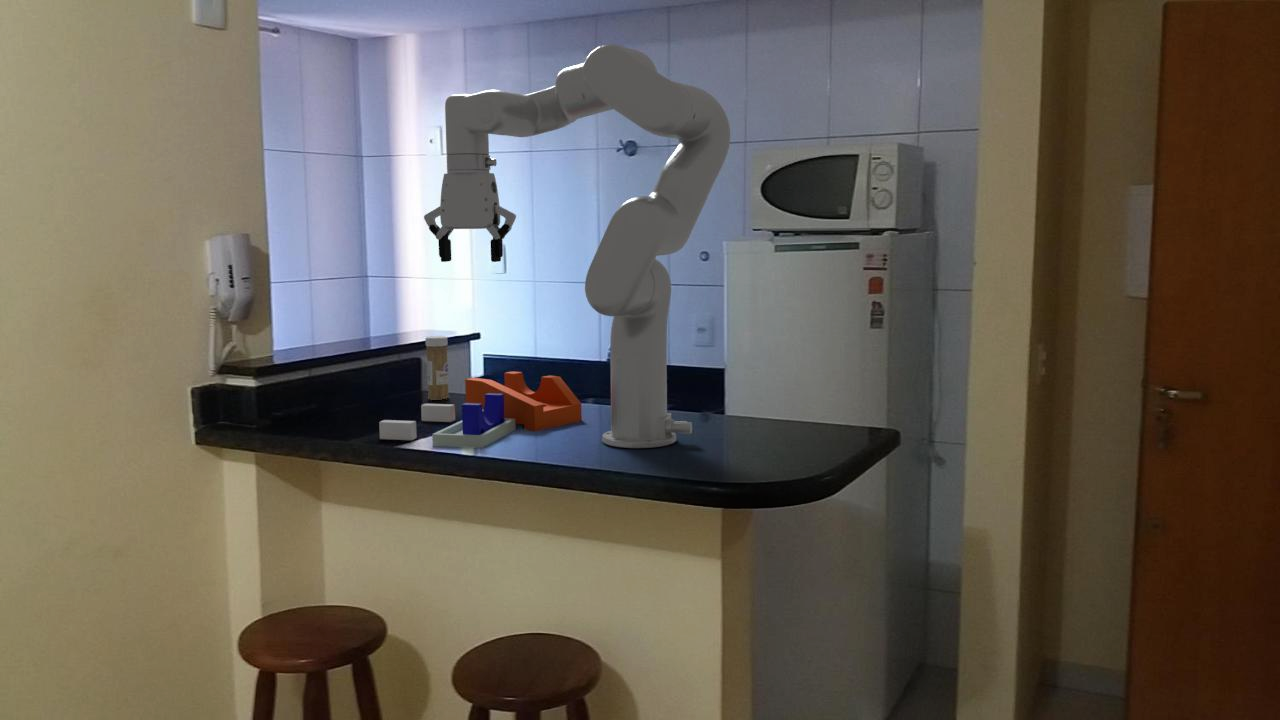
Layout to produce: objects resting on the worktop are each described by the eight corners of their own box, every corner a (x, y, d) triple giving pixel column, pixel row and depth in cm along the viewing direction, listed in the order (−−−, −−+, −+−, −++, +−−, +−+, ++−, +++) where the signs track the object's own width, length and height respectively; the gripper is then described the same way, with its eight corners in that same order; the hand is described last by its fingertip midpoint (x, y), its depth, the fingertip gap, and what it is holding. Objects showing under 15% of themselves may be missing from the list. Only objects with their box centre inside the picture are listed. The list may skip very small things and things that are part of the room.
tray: (515, 429, 193) (515, 418, 193) (482, 447, 178) (482, 436, 177) (469, 427, 195) (468, 416, 195) (432, 445, 180) (432, 434, 179)
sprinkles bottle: (447, 400, 224) (445, 337, 222) (425, 401, 224) (423, 337, 222) (450, 397, 229) (448, 335, 227) (429, 397, 228) (427, 335, 227)
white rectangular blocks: (455, 420, 203) (454, 404, 202) (411, 440, 184) (410, 423, 184) (426, 418, 204) (425, 403, 204) (379, 438, 186) (379, 422, 185)
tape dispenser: (466, 422, 202) (465, 379, 201) (513, 412, 212) (512, 371, 211) (535, 433, 191) (533, 387, 190) (581, 422, 201) (580, 379, 200)
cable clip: (481, 425, 193) (480, 393, 192) (504, 426, 192) (503, 393, 191) (454, 438, 181) (453, 404, 180) (479, 440, 180) (478, 405, 179)
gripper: (520, 165, 192) (523, 260, 194) (432, 167, 196) (435, 260, 198) (506, 163, 185) (508, 262, 187) (414, 165, 189) (417, 262, 191)
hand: (471, 261), depth 193 cm, fingers open, 9 cm apart
